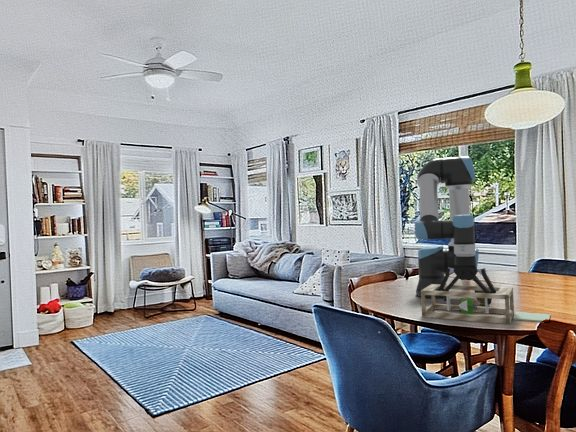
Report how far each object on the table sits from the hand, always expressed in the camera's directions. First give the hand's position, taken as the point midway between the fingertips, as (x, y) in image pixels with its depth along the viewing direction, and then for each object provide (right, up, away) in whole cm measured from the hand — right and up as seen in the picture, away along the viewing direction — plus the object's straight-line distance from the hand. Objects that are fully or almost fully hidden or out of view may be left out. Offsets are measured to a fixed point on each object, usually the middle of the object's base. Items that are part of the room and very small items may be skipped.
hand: (467, 311), depth 164 cm
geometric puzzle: (0, -2, 0) cm, 2 cm away
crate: (0, -2, 0) cm, 2 cm away
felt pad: (+20, -1, -8) cm, 21 cm away
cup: (+13, -1, +16) cm, 21 cm away
